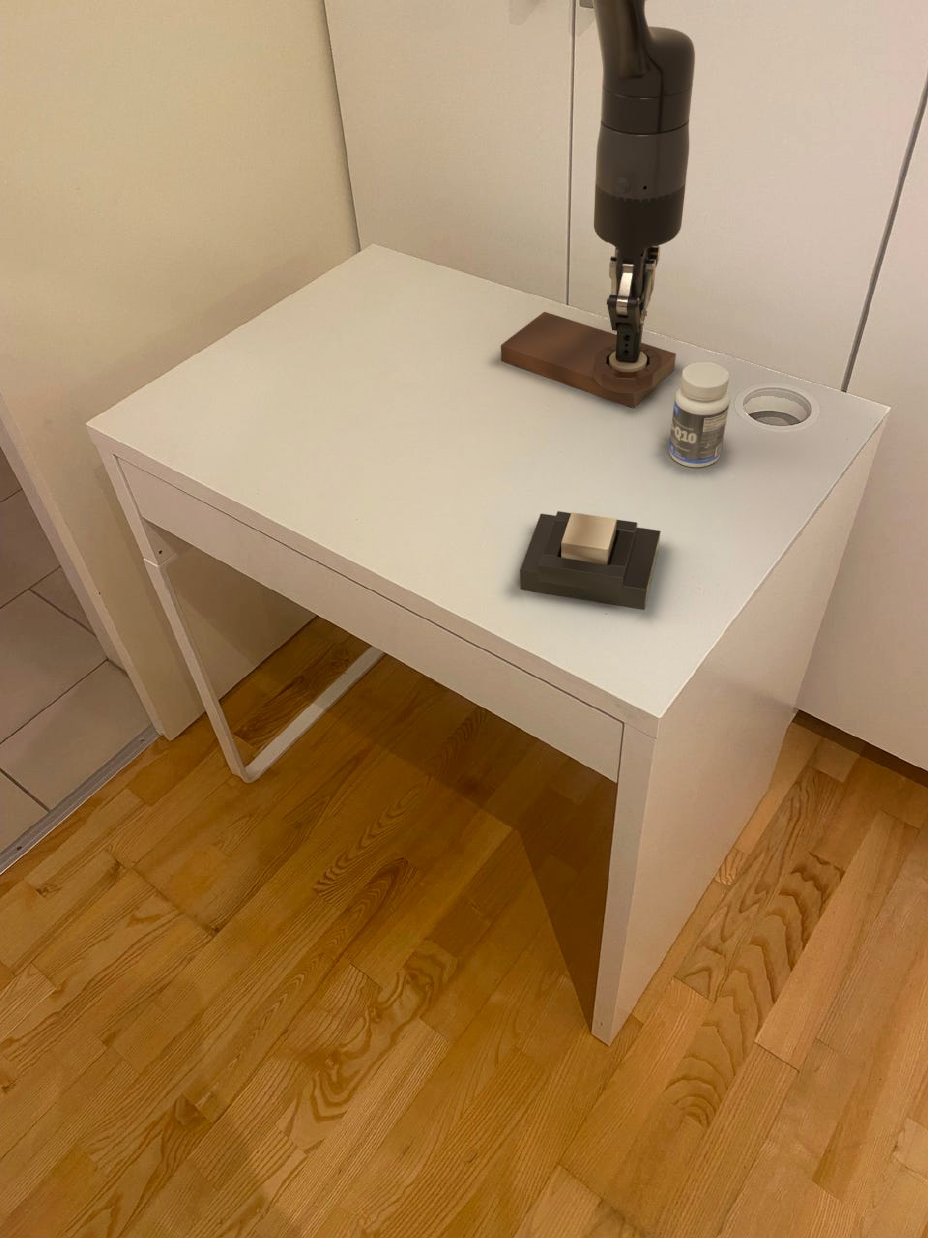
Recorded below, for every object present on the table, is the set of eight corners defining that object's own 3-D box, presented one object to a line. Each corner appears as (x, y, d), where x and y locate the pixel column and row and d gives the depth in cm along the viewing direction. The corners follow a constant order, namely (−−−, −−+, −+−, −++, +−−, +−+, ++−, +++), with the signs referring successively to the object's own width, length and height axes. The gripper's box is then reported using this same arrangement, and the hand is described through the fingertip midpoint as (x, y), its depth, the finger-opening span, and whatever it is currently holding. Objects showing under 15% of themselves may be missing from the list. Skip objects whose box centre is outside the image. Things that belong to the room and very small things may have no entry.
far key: (652, 368, 94) (653, 354, 93) (633, 386, 92) (634, 372, 91) (620, 358, 95) (621, 344, 94) (601, 375, 94) (602, 361, 92)
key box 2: (658, 550, 79) (662, 513, 76) (642, 618, 74) (646, 581, 71) (540, 532, 82) (540, 496, 79) (517, 597, 76) (516, 561, 74)
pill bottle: (657, 448, 88) (666, 369, 82) (699, 431, 90) (710, 352, 84) (689, 475, 86) (700, 395, 79) (731, 457, 87) (745, 377, 81)
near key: (615, 535, 75) (616, 518, 74) (607, 566, 73) (608, 549, 72) (570, 528, 76) (571, 511, 75) (561, 558, 74) (561, 542, 73)
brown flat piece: (683, 372, 97) (687, 342, 94) (637, 417, 92) (639, 385, 89) (544, 327, 104) (544, 297, 102) (495, 365, 100) (493, 335, 97)
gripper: (674, 213, 75) (655, 401, 87) (696, 146, 83) (676, 326, 96) (580, 206, 77) (575, 392, 89) (611, 142, 85) (602, 319, 98)
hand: (627, 357), depth 92 cm, fingers closed
